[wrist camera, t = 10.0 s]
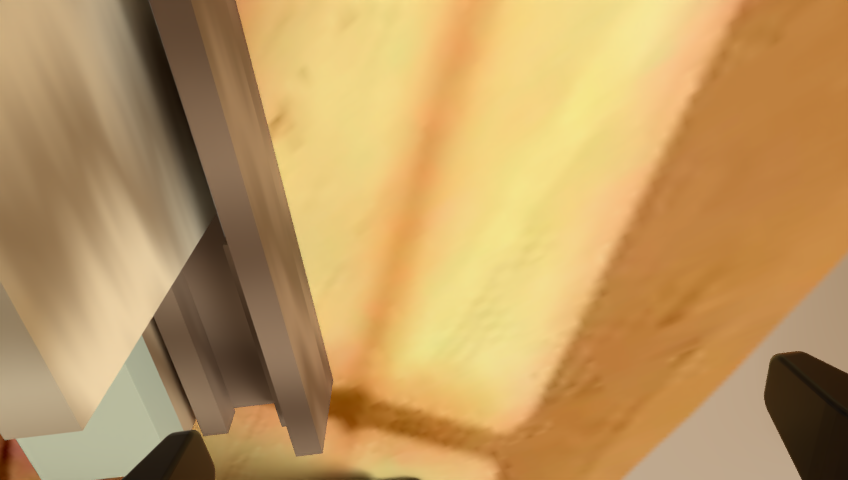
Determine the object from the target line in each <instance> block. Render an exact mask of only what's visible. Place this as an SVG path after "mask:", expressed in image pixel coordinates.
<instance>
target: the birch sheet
mask: <svg viewBox="0 0 848 480" xmlns="http://www.w3.org/2000/svg"><path fill="white" fill-rule="evenodd" d="M216 213H217V212H216V208H215V205H214V202H213V199H212V196H211V193H210V190H209V187H208V184H207V181H206V177H205V174H204V171H203V168H202V165H201V162H200V159H199V156H198V153H197V150H196V146H195V143H194V140H193V137H192V134H191V131H190V128H189V125H188V122H187V119H186V116H185V112H184V109H183V106H182V103H181V100H180V97H179V94H178V91H177V88H176V85H175V81H174V78H173V75H172V72H171V69H170V66H169V63H168V60H167V57H166V54H165V50H164V47H163V44H162V41H161V38H160V35H159V32H158V29H157V26H156V23H155V20H154V16H153V13H152V10H151V7H150V4H149V1H148V0H0V434H1V435H2V437H3V438H4V440H10V439H18V438H27V437H35V436H44V435H52V434H60V433H69V432H77V431H83V430H84V428H85V426H86V425H87V423H88V421H89V420H90V418H91V417H92V415H93V413H94V412H95V410H96V408H97V407H98V405H99V404H100V402H101V400H102V399H103V397H104V395H105V394H106V392H107V391H108V389H109V387H110V386H111V384H112V382H113V381H114V379H115V377H116V376H117V374H118V373H119V371H120V369H121V368H122V366H123V364H124V363H125V361H126V360H127V358H128V356H129V355H130V353H131V351H132V350H133V348H134V346H135V345H136V343H137V342H138V340H139V338H140V337H141V335H142V333H143V332H144V330H145V329H146V327H147V325H148V324H149V322H150V320H151V319H152V317H153V315H154V314H155V312H156V311H157V309H158V307H159V306H160V304H161V302H162V301H163V299H164V298H165V296H166V294H167V293H168V291H169V289H170V288H171V286H172V284H173V283H174V281H175V280H176V278H177V276H178V275H179V273H180V271H181V270H182V268H183V267H184V265H185V263H186V262H187V260H188V258H189V257H190V255H191V254H192V252H193V250H194V249H195V247H196V245H197V244H198V242H199V240H200V239H201V237H202V236H203V234H204V232H205V231H206V229H207V227H208V226H209V224H210V223H211V221H212V219H213V218H214V216H215V214H216Z"/></svg>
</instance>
